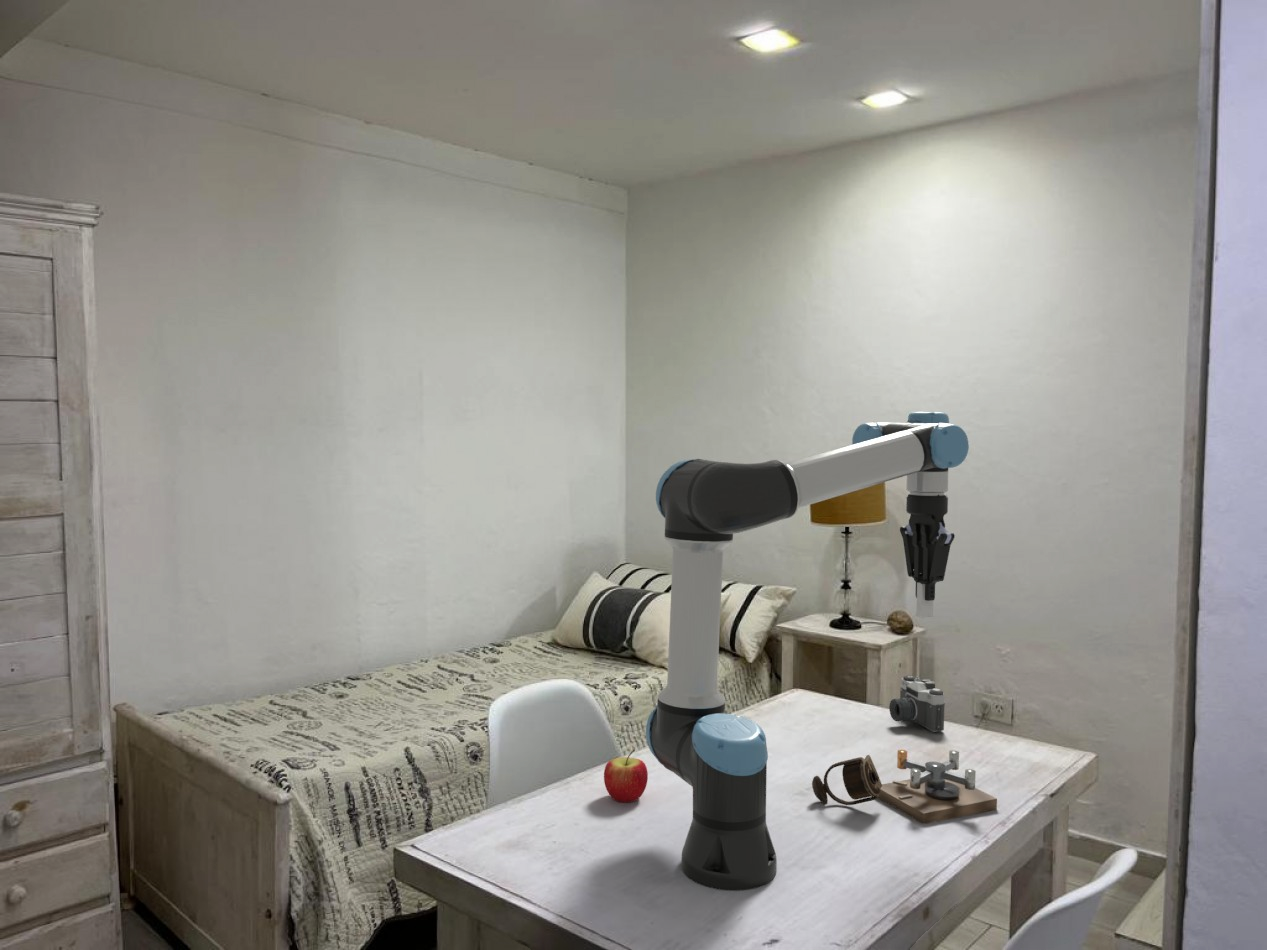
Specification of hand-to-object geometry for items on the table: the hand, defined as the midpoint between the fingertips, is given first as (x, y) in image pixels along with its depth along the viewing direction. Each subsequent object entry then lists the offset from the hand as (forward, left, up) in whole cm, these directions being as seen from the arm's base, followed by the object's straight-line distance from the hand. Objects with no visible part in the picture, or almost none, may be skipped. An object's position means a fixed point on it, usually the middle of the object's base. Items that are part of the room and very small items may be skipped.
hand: (924, 616), depth 185 cm
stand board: (-1, -5, -34) cm, 35 cm away
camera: (+26, +35, -35) cm, 56 cm away
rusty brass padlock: (-18, -1, -35) cm, 39 cm away
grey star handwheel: (-1, -5, -32) cm, 33 cm away
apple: (-54, +19, -35) cm, 67 cm away
